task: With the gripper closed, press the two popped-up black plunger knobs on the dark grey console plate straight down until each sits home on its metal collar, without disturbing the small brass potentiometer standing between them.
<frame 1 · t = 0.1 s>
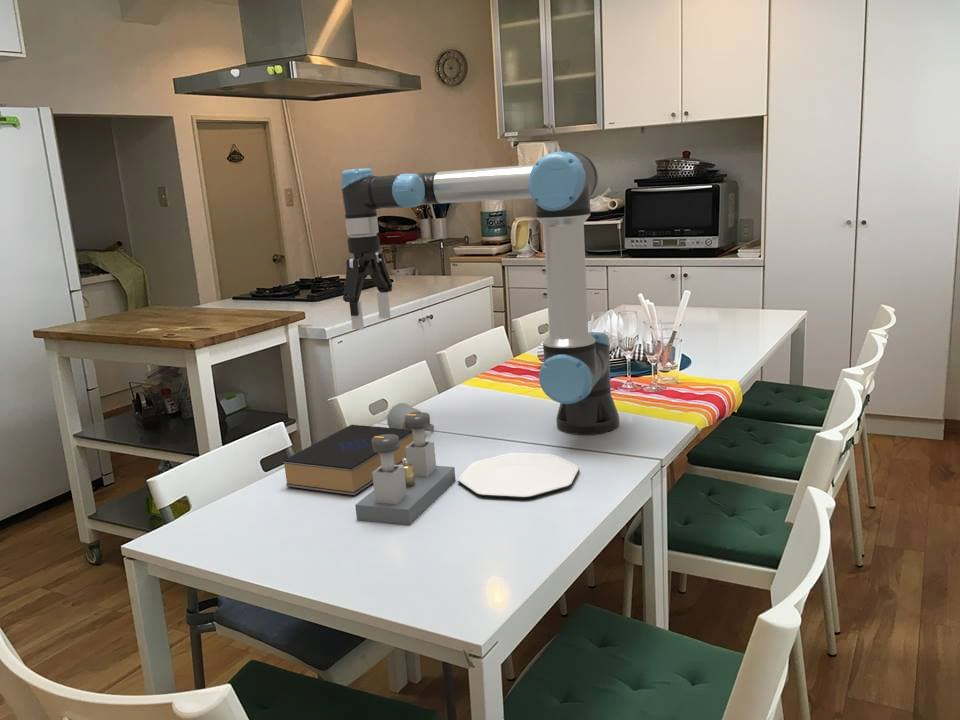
hand: (372, 323, 197), 28 cm above the table, fingers open, 13 cm apart
knob b: (387, 458, 151), point 11 cm above the table, slide at 0.0 cm
book: (354, 474, 177), on the table
ceramic mug: (413, 435, 200), on the table
plate: (519, 480, 167), on the table
console: (408, 499, 160), on the table
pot: (407, 484, 159), point 3 cm above the table, touching console
knob a: (418, 434, 164), point 11 cm above the table, slide at 0.0 cm
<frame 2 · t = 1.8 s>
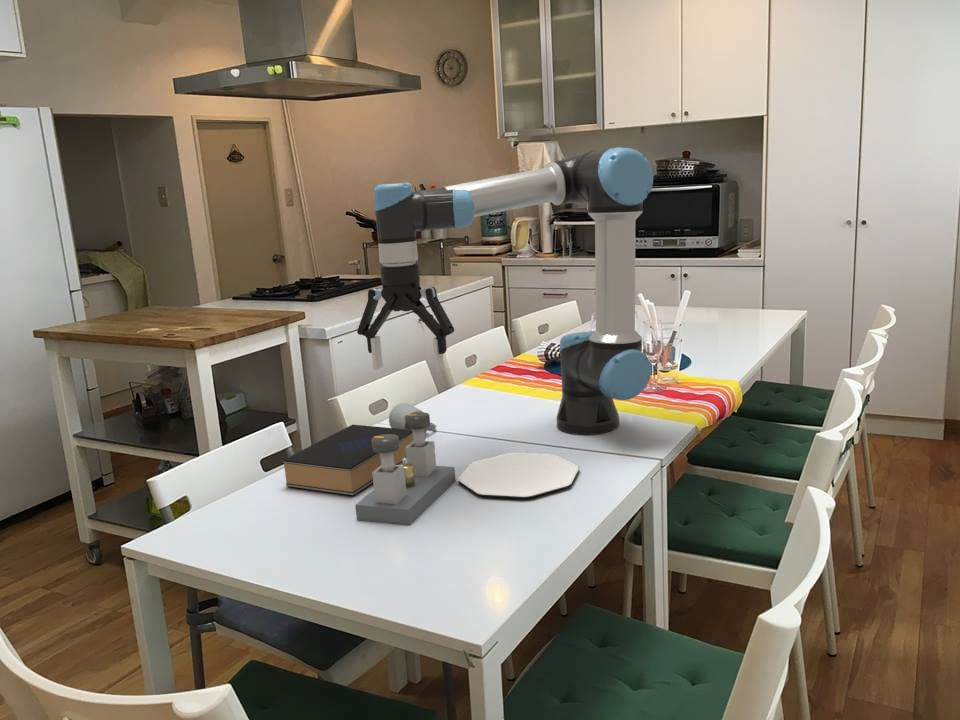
hand: (408, 369, 163), 24 cm above the table, fingers open, 13 cm apart
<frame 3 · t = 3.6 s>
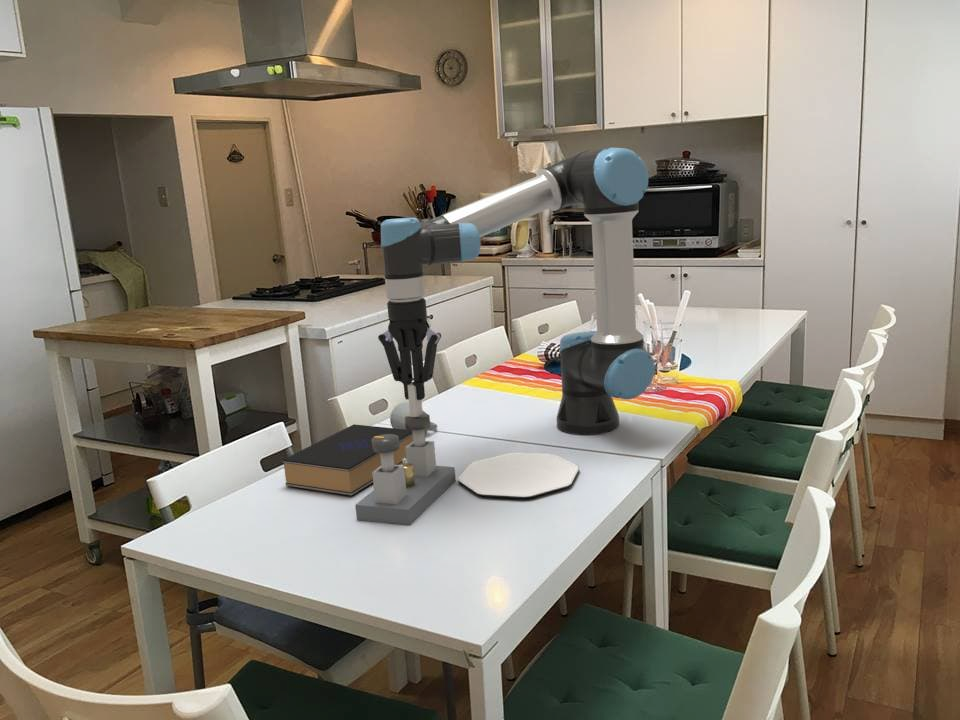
hand: (416, 414, 163), 15 cm above the table, fingers closed
knob a: (418, 435, 164), point 11 cm above the table, slide at 0.2 cm, touching gripper
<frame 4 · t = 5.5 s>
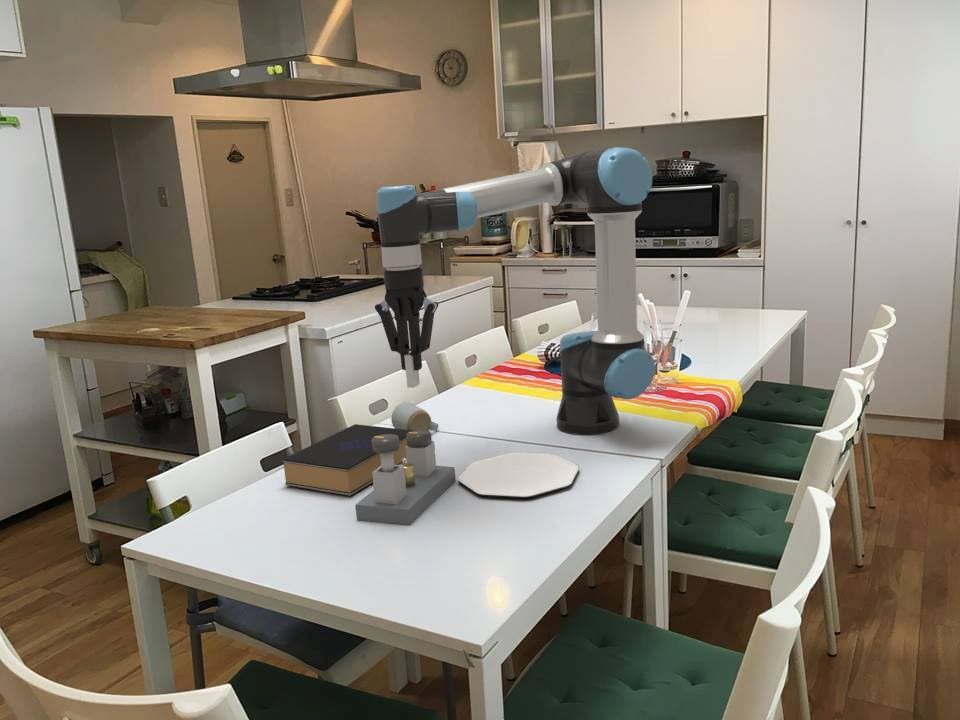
hand: (413, 385, 161), 21 cm above the table, fingers closed
knob a: (420, 452, 164), point 7 cm above the table, slide at 3.8 cm
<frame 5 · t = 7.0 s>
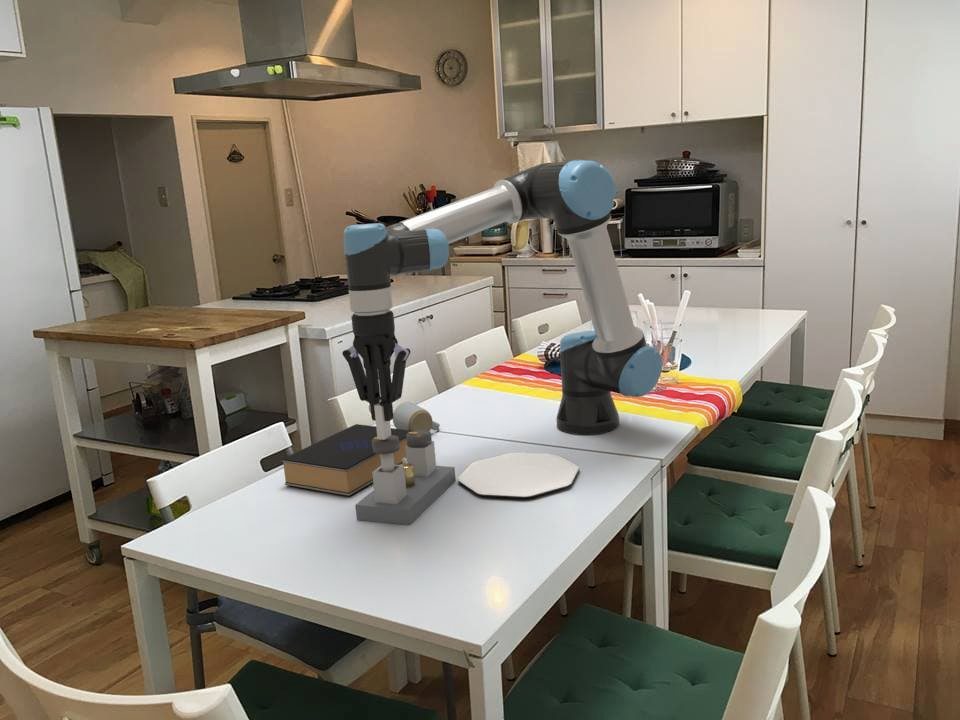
hand: (384, 437, 150), 15 cm above the table, fingers closed
knob b: (387, 459, 151), point 11 cm above the table, slide at 0.2 cm, touching gripper
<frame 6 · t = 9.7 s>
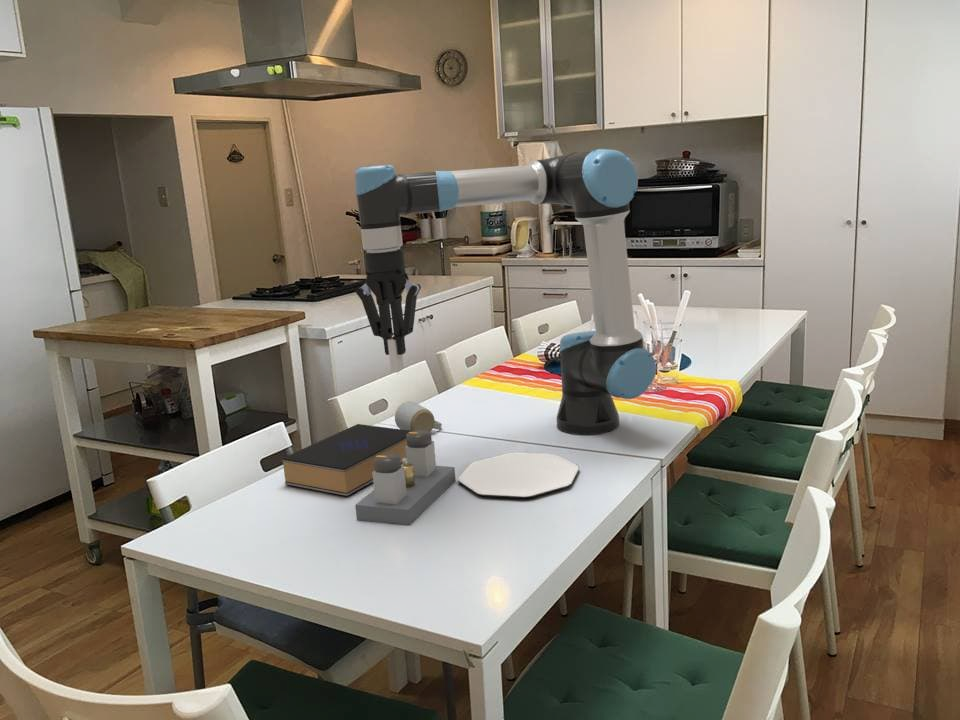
hand: (397, 370, 158), 25 cm above the table, fingers closed
knob b: (389, 477, 152), point 7 cm above the table, slide at 3.8 cm
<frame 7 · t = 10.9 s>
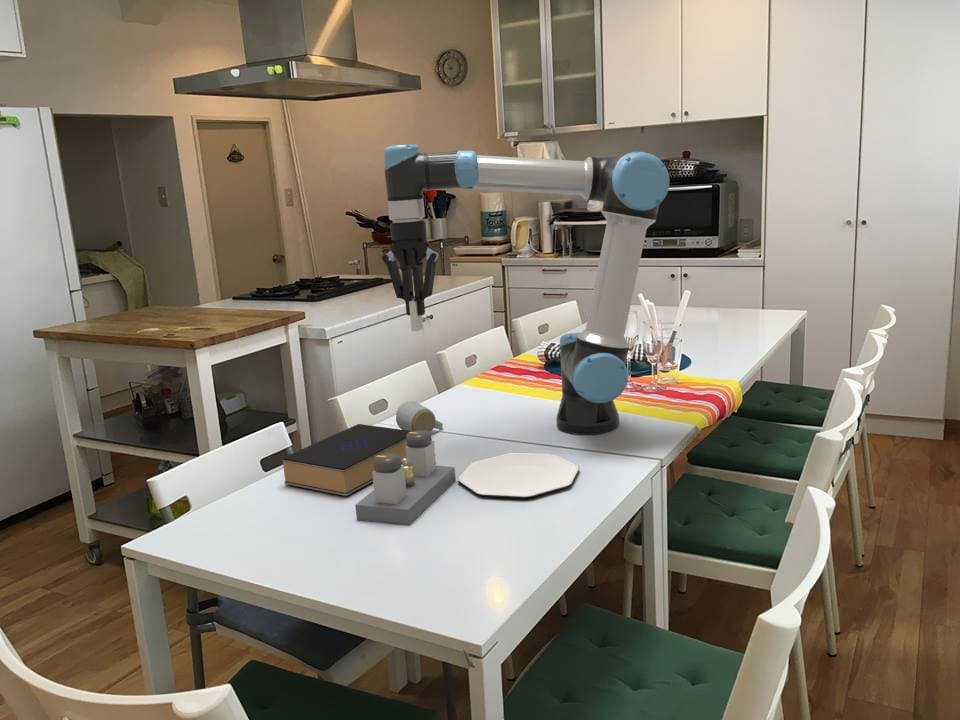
hand: (417, 329, 176), 29 cm above the table, fingers closed
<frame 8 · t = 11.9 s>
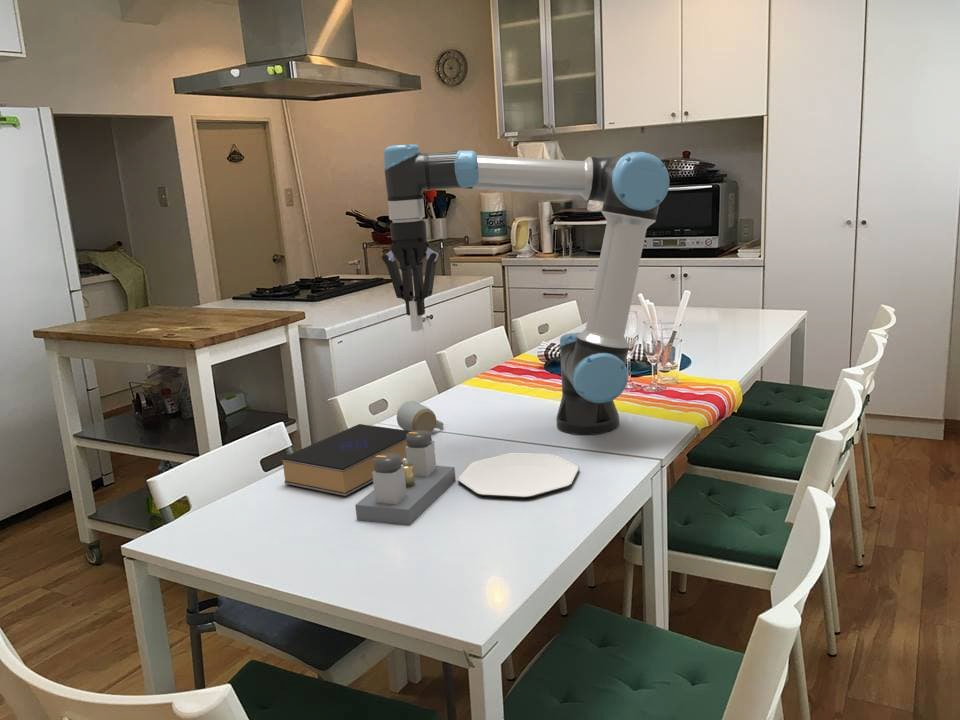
hand: (417, 329, 176), 29 cm above the table, fingers closed
at the end: knob a slide at 3.8 cm; knob b slide at 3.8 cm; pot tilted 0° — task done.
